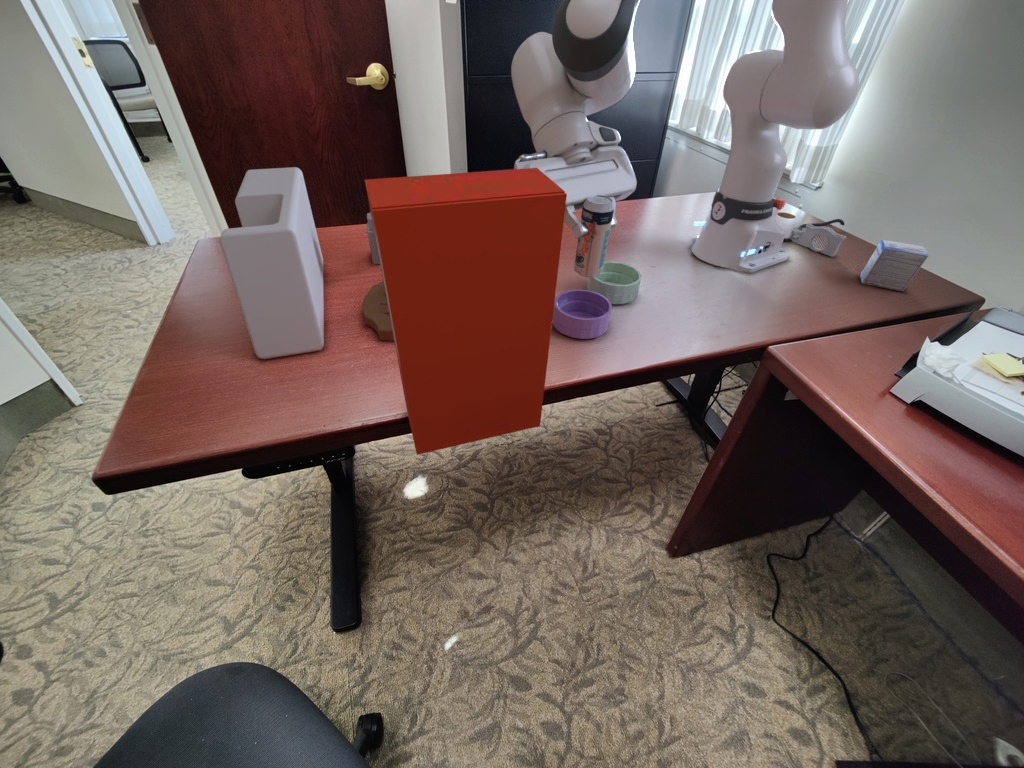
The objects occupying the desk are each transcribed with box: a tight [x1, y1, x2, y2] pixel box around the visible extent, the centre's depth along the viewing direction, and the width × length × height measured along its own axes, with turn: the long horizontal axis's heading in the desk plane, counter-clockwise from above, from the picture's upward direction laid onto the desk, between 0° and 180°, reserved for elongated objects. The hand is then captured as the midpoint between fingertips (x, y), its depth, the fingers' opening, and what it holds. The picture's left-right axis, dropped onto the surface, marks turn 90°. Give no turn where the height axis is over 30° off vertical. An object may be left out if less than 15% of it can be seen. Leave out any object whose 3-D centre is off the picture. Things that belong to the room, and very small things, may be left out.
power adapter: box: [366, 205, 380, 265], centre depth 94 cm, size 3×5×12 cm, turn 15°
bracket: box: [219, 166, 325, 360], centre depth 79 cm, size 30×10×30 cm, turn 18°
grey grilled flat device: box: [788, 222, 847, 258], centre depth 108 cm, size 12×2×6 cm, turn 34°
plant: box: [362, 281, 394, 342], centre depth 79 cm, size 20×20×11 cm
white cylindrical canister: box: [573, 195, 614, 278], centre depth 70 cm, size 5×5×12 cm
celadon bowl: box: [586, 261, 642, 305], centre depth 88 cm, size 10×10×4 cm
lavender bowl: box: [552, 288, 613, 340], centre depth 79 cm, size 10×10×4 cm
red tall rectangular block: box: [364, 168, 567, 456], centre depth 51 cm, size 8×17×32 cm, turn 109°
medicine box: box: [859, 239, 929, 292], centre depth 94 cm, size 8×4×9 cm, turn 65°
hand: (597, 232), depth 69 cm, fingers closed on white cylindrical canister, 5 cm apart
